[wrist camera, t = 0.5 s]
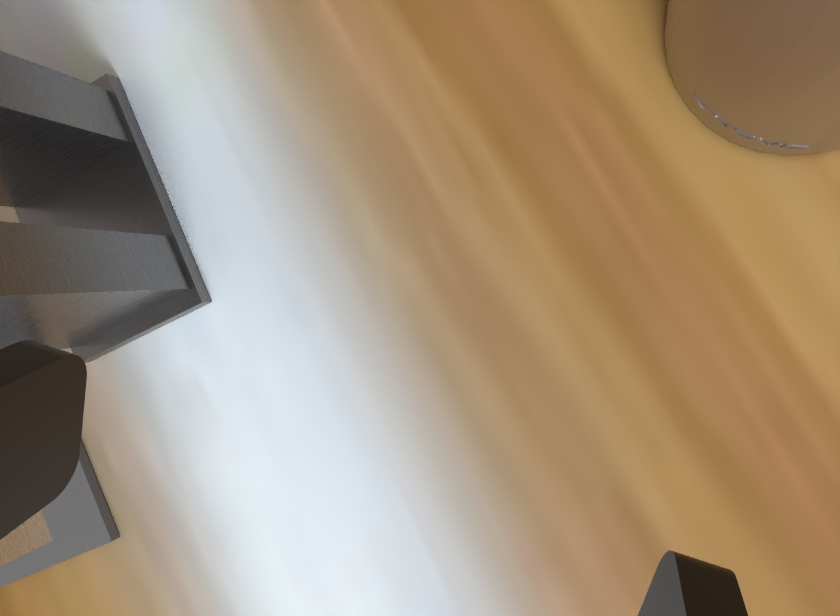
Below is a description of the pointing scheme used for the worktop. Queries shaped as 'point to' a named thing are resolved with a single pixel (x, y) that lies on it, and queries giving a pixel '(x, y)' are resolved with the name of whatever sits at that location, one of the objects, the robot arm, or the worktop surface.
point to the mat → (68, 525)
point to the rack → (84, 218)
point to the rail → (25, 538)
